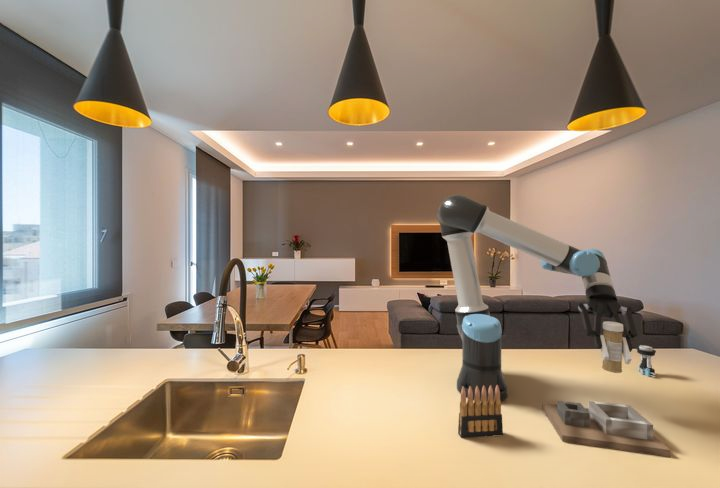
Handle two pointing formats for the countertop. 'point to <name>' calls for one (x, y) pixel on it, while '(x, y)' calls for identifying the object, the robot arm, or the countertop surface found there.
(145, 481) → the countertop surface
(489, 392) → the ammunition clip
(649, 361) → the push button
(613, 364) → the sprinkles bottle
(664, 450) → the socket board
